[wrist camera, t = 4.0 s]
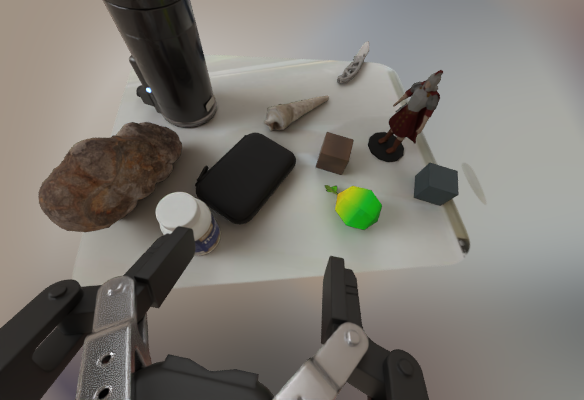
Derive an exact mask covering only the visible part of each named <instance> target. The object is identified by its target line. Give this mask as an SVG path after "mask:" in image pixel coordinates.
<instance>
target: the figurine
mask: <svg viewBox="0 0 584 400" xmlns="http://www.w3.org/2000/svg"><path fill="white" fill-rule="evenodd" d="M442 73H443V71H442V70H440V71H438V72H437V73H434V74H432V75H431V76H430V77H429V78H428V79H427V80H426V81H424V82H418V83H414V84H413V85H412V87H411V88H410V89H409V90H407V91H406V92H405V94H404V95H403V96H402V97H401V98H400V99H399V101H397V102H396V103H395V104H394V105H393V107H394V106H396V105H397V104H398V103H400V102H401V101H402V100H404V99H406V98H408V97H411V96H412V97H411V99H410V101H409V102H408V104H407V103H406V104H405V105H404V106H402V107H400V108H399V109H398V110H397V111H398V112H397V111H395V112H397V113H396V114H395V115H393V116H392V117H391V118H390V120H389V125H390V130H389V131H388V133H386V132H380V133H375V134H374V135H372V136H371V137H370V139H369V143H368V146H369V149H370V151H371V153H372V154H373V155H375V156H376V157H377V158H378V159H380V160H383V161H386V162H393V161H397V160H398V159H400V158H401V157H402V156H403V152H404V147H403V145H402V143H401V142H402V141H403V140H404V138H405V137H408V138H409V139H410V140H412V141H413V142H414V143H416V137H417V135H418V134H419V133H421V131H422V130H423V128H424V126H425V124H426V122H427V121H428V119H429V117H431V115H432V113H433V112H434V110H435V109H436V107H437V105H438V102H439V99H440V95H439V93H438V92H437V90H438V86H437V84H438V83H439V82H440V80H441V75H442ZM400 109H401V110H400ZM393 134H395V135H396V136H397V138H396V137H395V136H394V135H393Z"/></svg>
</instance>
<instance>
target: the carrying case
mask: <svg viewBox="0 0 584 400" xmlns="http://www.w3.org/2000/svg"><path fill="white" fill-rule="evenodd" d="M295 164H296V158H295V156H294V154H293V153H292V152H291V151H289V150H287V149H286V148H284V147H282V146H281V145H279V144H277V143H276V142H274V141H272V140H271V139H269V138H267V137H266V136H264V135H262V134H260V133H251V134H249V135H247V136H246V135H245V136H244V137H243V138H242V139H241V140H240V141H239V142H238V143H237V144H236V145H235V146H234V147H233V148H232V149H231V150H230V151H229V152H227V153H226V154H225V155H224V156H223V157H222V158H221V159H220V160H219V161H218V162H217V163H216V164H215V165H214V166H213V167H212V168H211V169H210V170H209V171H208V169H209V167H208V166H205V167H204V169H203V170H202V172H201V174H200V176H199V177H198V179H197V183H196V184H195V186H196V194H197V196H198V198H199V199H200V200H201V201H202V202H204V203H205V204H207V205H208V206H210V207H211V208H212V209H214V210H215V211H217V212H218V213H220V214H221V215H222V216H224V217H225V218H227V219H228V220H230V221H231V222H233V223H235V224H244V223H247V222H249V221H250V220H251V219H252V218H253V217H254V216H255V215H256V213H257V212H258V211H259V210H260V208H261V207H262V206H263V205H264V204H265V202H266V201H267V200H268V199H269V197H270V196H271V195H272V194H273V192H274V191H275V190H276V189H277V188H278V186H279V185H280V184H281V183H282V182H283V180H284V179H285V178H286V177H287V175H288V174H289V173H290V172H291V170H292V169H293V168H294V166H295Z"/></svg>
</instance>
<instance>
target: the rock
mask: <svg viewBox="0 0 584 400" xmlns="http://www.w3.org/2000/svg"><path fill="white" fill-rule="evenodd" d="M181 149H182V143H181V142H180V140H179V137H178V135H177V134H176V133H175V132H174V131H172V130H171V129H169V128H167V127H162V126H159V125H156V124H152V123H149V122H144V123H139V124H138V123H134V122H131V123H127V124H125V125H124V126H123V127H122V129H121V130H120V131H119V132H118V133H117V135H116V136H112V137H111V138H91V139H86V140H82V141H80V142H78V143H76V144H75V145H73V147H72V148H71V149H70V150H69V152H68V154H67V155H66V156H65V158H64V160H63V161H62V162H61V164H60V165H59V166H58V167H56V168H55V169H53V172H52V173H51V174H50V175H49V177H48V178H47V179H46V180H45V181H44V182H43V183H42V186H41V187H40V190H39V204H40V206H41V209H42V210H43V212H44V213H45V214H46V215H47V216H48V217H49V219H50V220H51V221H52V222H54V223H55V224H56V225H58V226H59V227H61V228H62V229H65V230H67V231H78V232H90V231H96V230H100V229H104V228H109V227H110V226H111V225H112V224H114V223H115V222H117V221H119V220H120V219H122V218H123V217H125V216H126V215H127V213H129V212H131V211H132V210H133V209H134V208H135V207H136V205H137V200H138V199H143V198H145V197H147V196H148V195H150V194H151V193H152V192H153V191H154V190H155V184H156V183H157V182H161V181H163V180H165V179H166V178H167V177H168V176H169V173H170V172H171V171H172V170H173V164H172V163H174V162H175V161H176V160H177V159H178V158H179V156H180V155H181Z"/></svg>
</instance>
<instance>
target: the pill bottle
mask: <svg viewBox="0 0 584 400" xmlns="http://www.w3.org/2000/svg"><path fill="white" fill-rule="evenodd" d="M156 218H157V220H158V222H159V223H160V228H161V231H162V233H163V234H164V235H165V234H166V233H169V234H171V233H172V232H173V231H174V229H175V228H176V227H178V226H181V227H186V228H192V229H193V233H194V239H195V246H196V250H195V254H194V255H196V256H200V255H205V254H207V253H209V252H211V251H212V250H213V249H214V248H215V247H216V246H217V245H218V243H219V240H220V236H221V232H220V228H219V226H218V224H217V222H216V221H215V219H214V217H213V215H212V213H211V212H210V210H209V208H208V207H207V205H206V204H205V203H204V202H202V201H201V200H199V199H196V198H194V197H193V196H191V195H190V194H188V193H185V192H174V193H171V194H169V195H167V196H165V197H164V198H163V199H162V200H161V201H160V202H159V203H158V205H157V208H156Z"/></svg>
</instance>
